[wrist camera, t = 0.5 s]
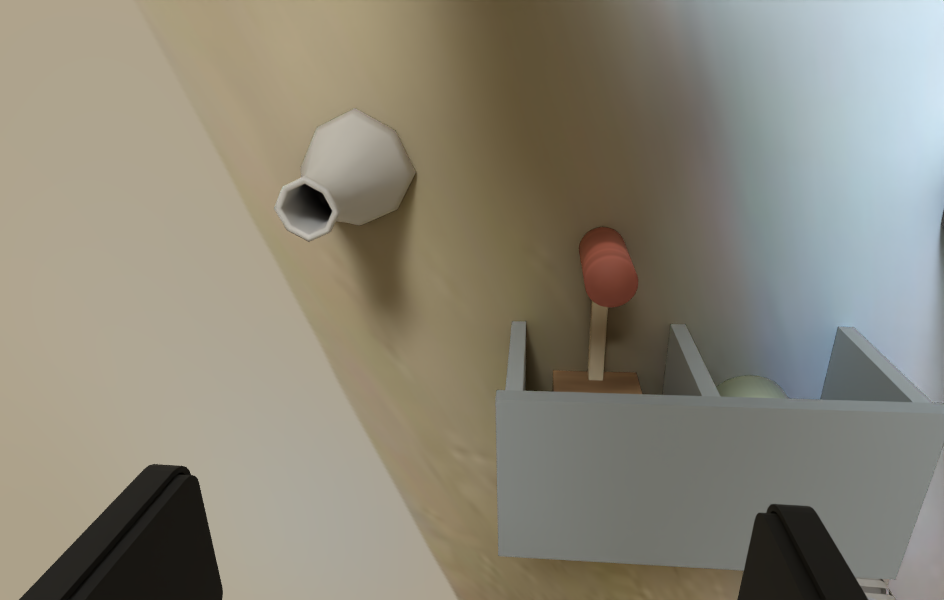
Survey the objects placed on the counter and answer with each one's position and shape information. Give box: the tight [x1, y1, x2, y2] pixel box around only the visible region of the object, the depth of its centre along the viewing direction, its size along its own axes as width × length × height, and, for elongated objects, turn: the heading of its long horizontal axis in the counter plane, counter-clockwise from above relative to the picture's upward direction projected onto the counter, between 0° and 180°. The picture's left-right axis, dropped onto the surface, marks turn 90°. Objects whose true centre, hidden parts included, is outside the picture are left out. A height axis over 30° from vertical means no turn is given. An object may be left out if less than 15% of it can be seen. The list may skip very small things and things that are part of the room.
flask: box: [274, 108, 416, 242], centre depth 35 cm, size 7×7×10 cm
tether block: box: [552, 227, 642, 394], centre depth 40 cm, size 17×6×6 cm, turn 2°
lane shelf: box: [496, 321, 944, 580], centre depth 40 cm, size 12×24×10 cm, turn 92°
